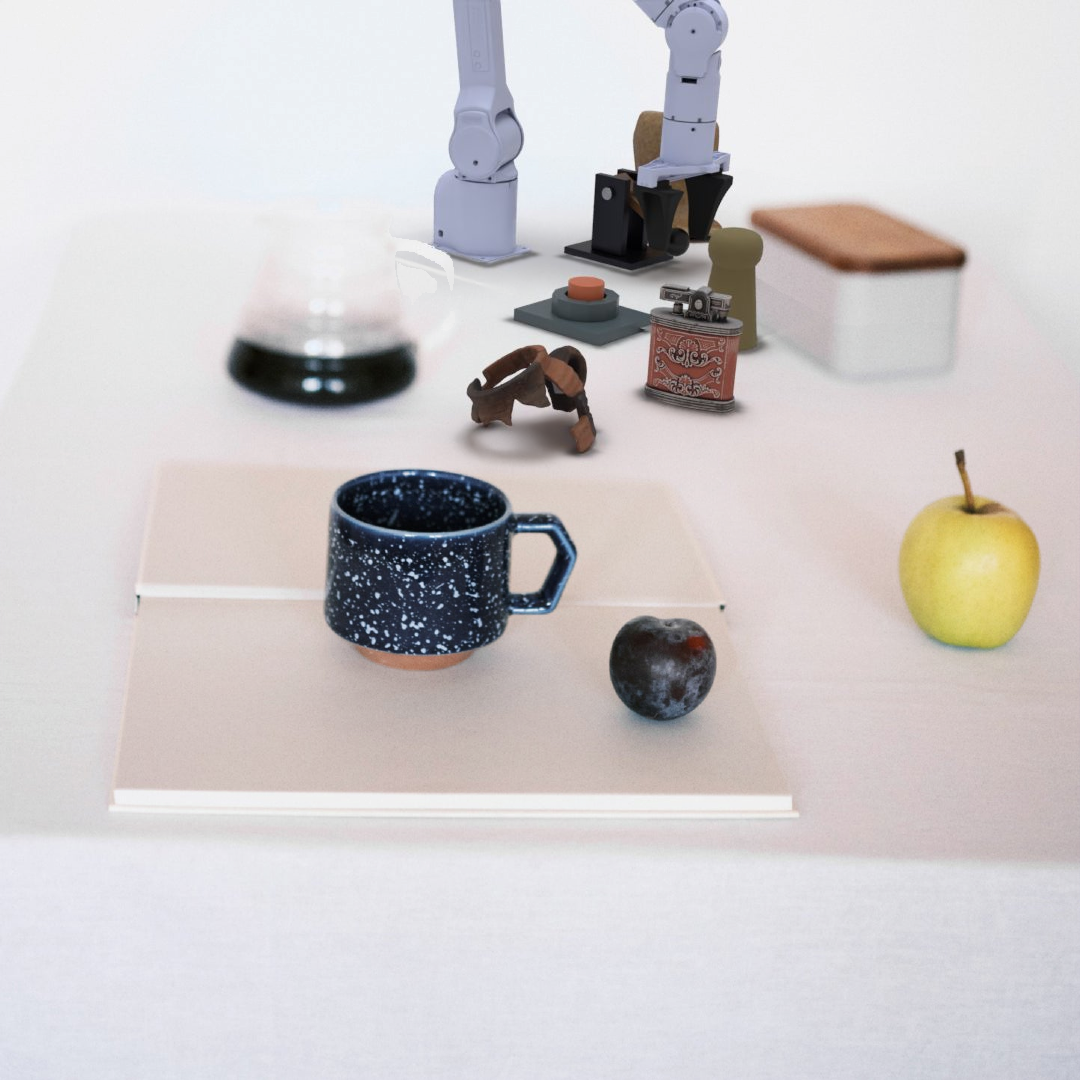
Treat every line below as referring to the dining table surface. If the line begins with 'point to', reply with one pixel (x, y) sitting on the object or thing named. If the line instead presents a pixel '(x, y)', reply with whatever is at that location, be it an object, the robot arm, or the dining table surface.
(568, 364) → the brown curved pieces
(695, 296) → the lighter
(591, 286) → the button
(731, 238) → the cork
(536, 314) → the button block
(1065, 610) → the dining table surface
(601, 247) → the bracket
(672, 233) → the lever
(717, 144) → the tan piece
